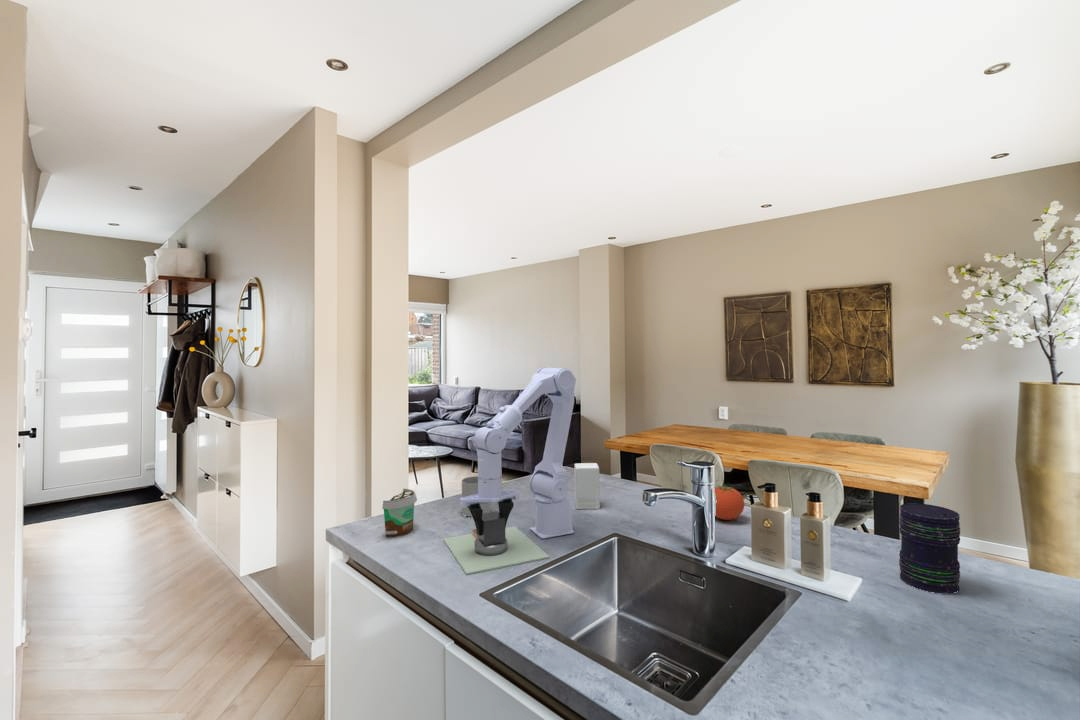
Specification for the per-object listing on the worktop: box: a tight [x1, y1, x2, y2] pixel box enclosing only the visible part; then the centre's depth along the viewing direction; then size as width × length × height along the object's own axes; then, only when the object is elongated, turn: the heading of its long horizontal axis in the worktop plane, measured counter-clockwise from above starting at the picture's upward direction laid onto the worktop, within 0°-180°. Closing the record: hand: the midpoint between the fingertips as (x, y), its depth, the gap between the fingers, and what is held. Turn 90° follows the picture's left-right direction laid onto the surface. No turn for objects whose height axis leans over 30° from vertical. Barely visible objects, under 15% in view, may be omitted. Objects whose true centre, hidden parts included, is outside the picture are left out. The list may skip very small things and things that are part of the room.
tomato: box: [714, 483, 745, 521], centre depth 142 cm, size 10×10×10 cm
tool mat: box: [442, 525, 550, 576], centre depth 124 cm, size 20×22×1 cm
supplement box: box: [573, 462, 601, 510], centre depth 156 cm, size 7×7×13 cm
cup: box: [461, 475, 491, 517], centre depth 151 cm, size 8×8×10 cm
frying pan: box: [471, 528, 508, 556], centre depth 126 cm, size 16×8×6 cm, turn 24°
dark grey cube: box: [477, 510, 506, 546], centre depth 122 cm, size 5×5×6 cm
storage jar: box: [898, 502, 961, 594], centre depth 103 cm, size 10×10×15 cm
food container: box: [381, 488, 418, 538], centre depth 136 cm, size 12×6×10 cm, turn 168°
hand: (490, 532), depth 122 cm, fingers closed on dark grey cube, 5 cm apart
